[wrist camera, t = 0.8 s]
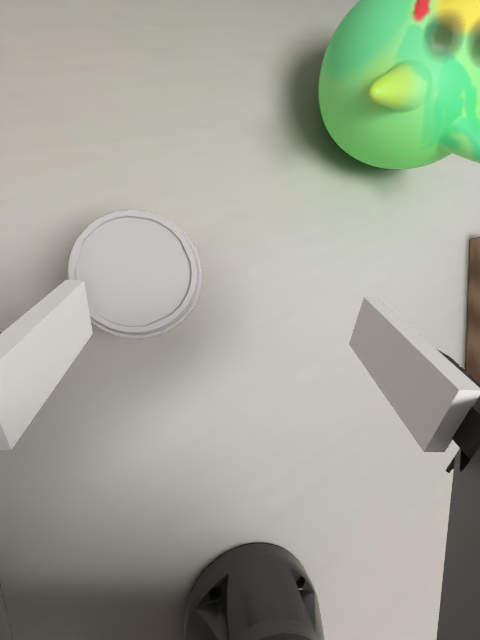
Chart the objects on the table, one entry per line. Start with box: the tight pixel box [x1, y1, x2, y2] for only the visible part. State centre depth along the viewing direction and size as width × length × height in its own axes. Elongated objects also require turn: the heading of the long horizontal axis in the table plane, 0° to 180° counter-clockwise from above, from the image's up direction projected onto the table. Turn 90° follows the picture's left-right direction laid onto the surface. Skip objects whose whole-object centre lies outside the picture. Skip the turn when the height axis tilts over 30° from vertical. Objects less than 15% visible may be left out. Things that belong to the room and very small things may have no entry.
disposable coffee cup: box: [67, 210, 202, 339], centre depth 27 cm, size 10×10×12 cm
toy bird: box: [318, 0, 480, 169], centre depth 31 cm, size 18×17×15 cm
